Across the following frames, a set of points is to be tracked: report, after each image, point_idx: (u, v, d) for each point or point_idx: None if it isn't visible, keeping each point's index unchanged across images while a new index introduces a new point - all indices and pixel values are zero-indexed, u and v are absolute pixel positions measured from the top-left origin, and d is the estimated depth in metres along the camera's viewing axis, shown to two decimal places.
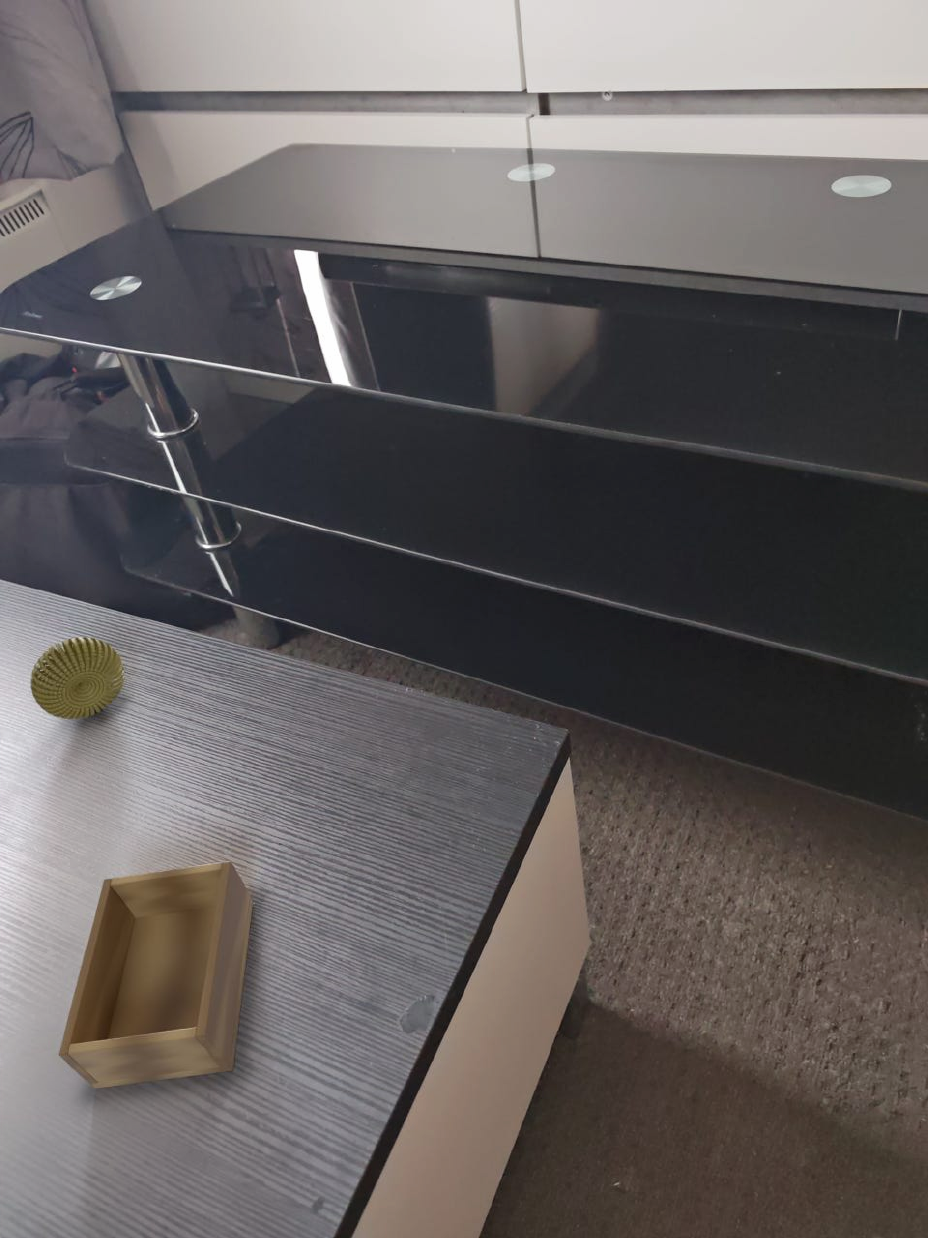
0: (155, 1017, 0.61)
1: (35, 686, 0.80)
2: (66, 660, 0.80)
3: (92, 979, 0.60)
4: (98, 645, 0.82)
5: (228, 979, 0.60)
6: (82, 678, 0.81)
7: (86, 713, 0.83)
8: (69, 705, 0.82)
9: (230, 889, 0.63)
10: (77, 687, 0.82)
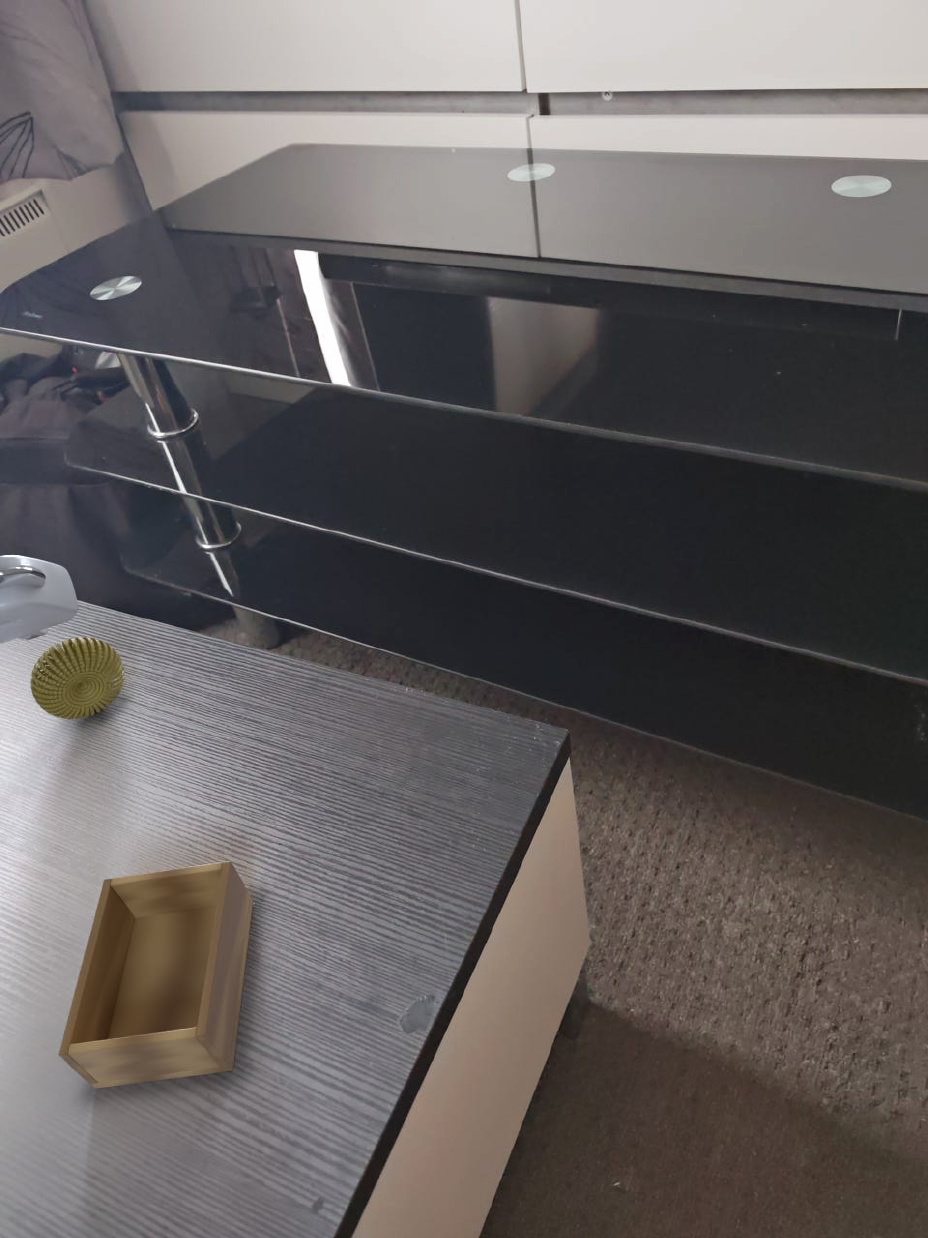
0: (155, 1017, 0.61)
1: (35, 686, 0.80)
2: (66, 660, 0.80)
3: (92, 979, 0.60)
4: (98, 645, 0.82)
5: (228, 979, 0.60)
6: (82, 678, 0.81)
7: (86, 713, 0.83)
8: (69, 705, 0.82)
9: (230, 889, 0.63)
10: (77, 687, 0.82)
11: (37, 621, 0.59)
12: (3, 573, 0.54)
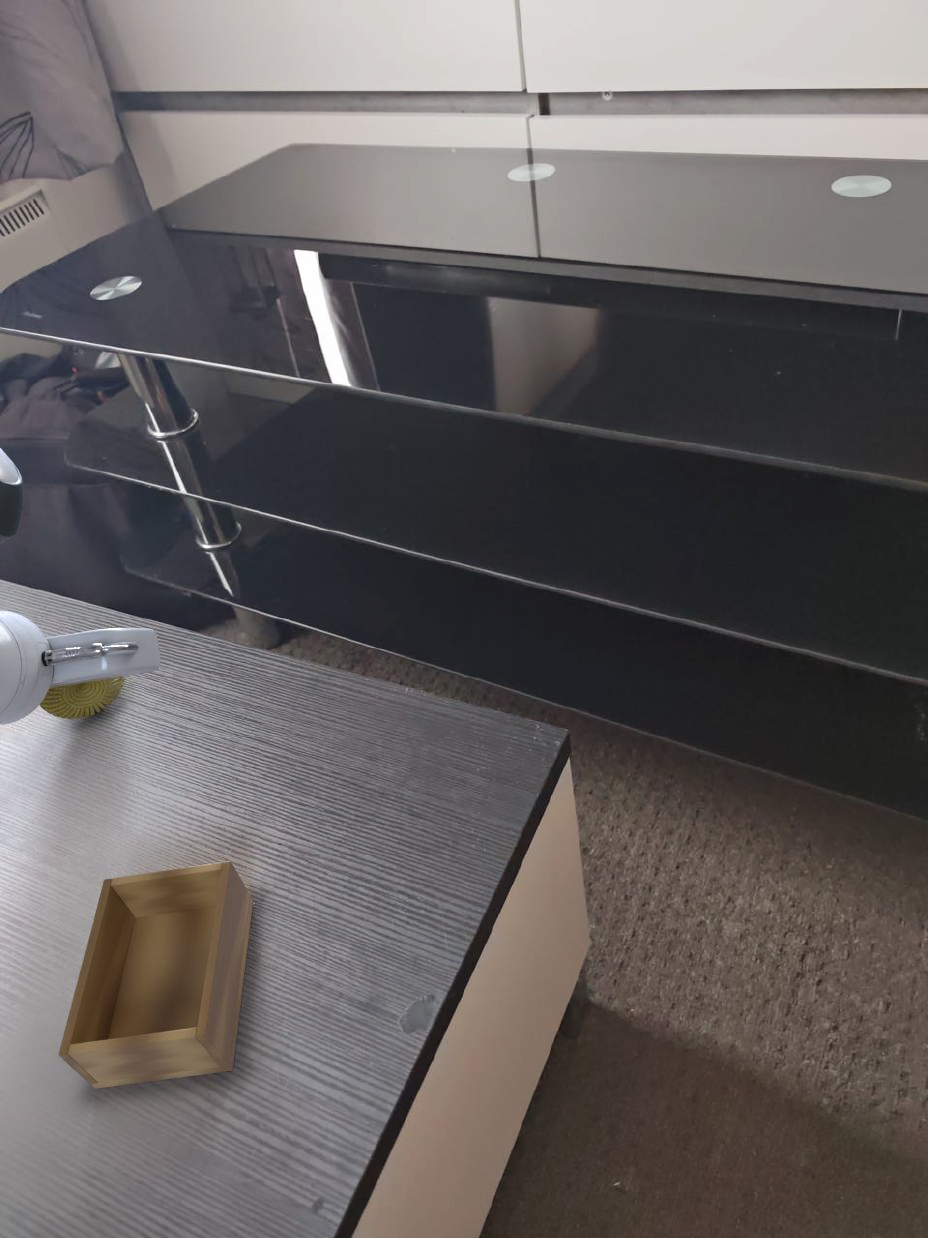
0: (155, 1017, 0.61)
1: None
2: None
3: (92, 979, 0.60)
4: None
5: (228, 979, 0.60)
6: None
7: (86, 713, 0.83)
8: (69, 705, 0.82)
9: (230, 889, 0.63)
10: (77, 687, 0.82)
11: (127, 674, 0.75)
12: (107, 650, 0.69)
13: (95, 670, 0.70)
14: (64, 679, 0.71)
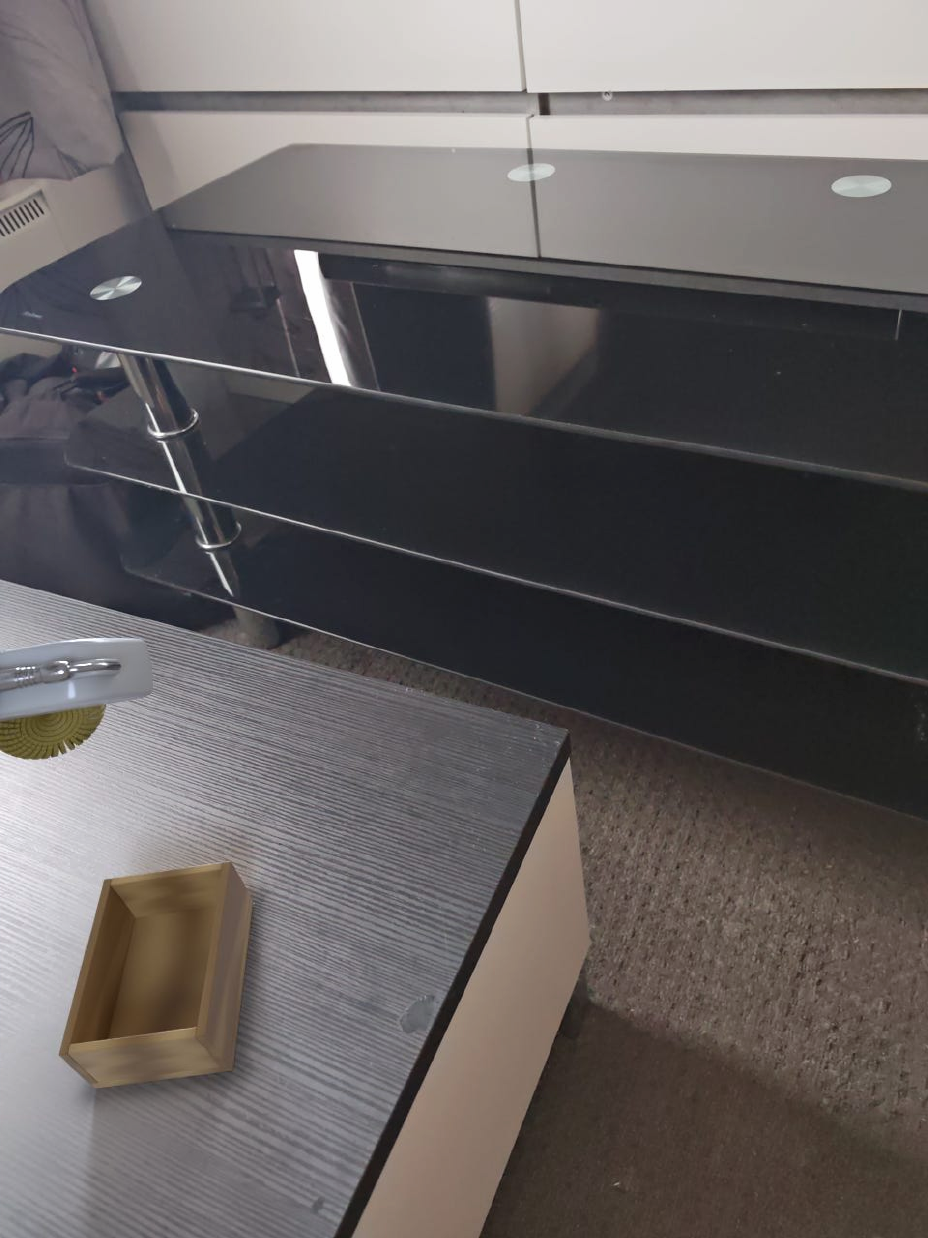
0: (155, 1017, 0.61)
1: None
2: None
3: (92, 979, 0.60)
4: None
5: (228, 979, 0.60)
6: None
7: (55, 752, 0.62)
8: (30, 742, 0.60)
9: (230, 889, 0.63)
10: (42, 717, 0.61)
11: (106, 702, 0.54)
12: (74, 670, 0.48)
13: (59, 699, 0.49)
14: (14, 712, 0.49)
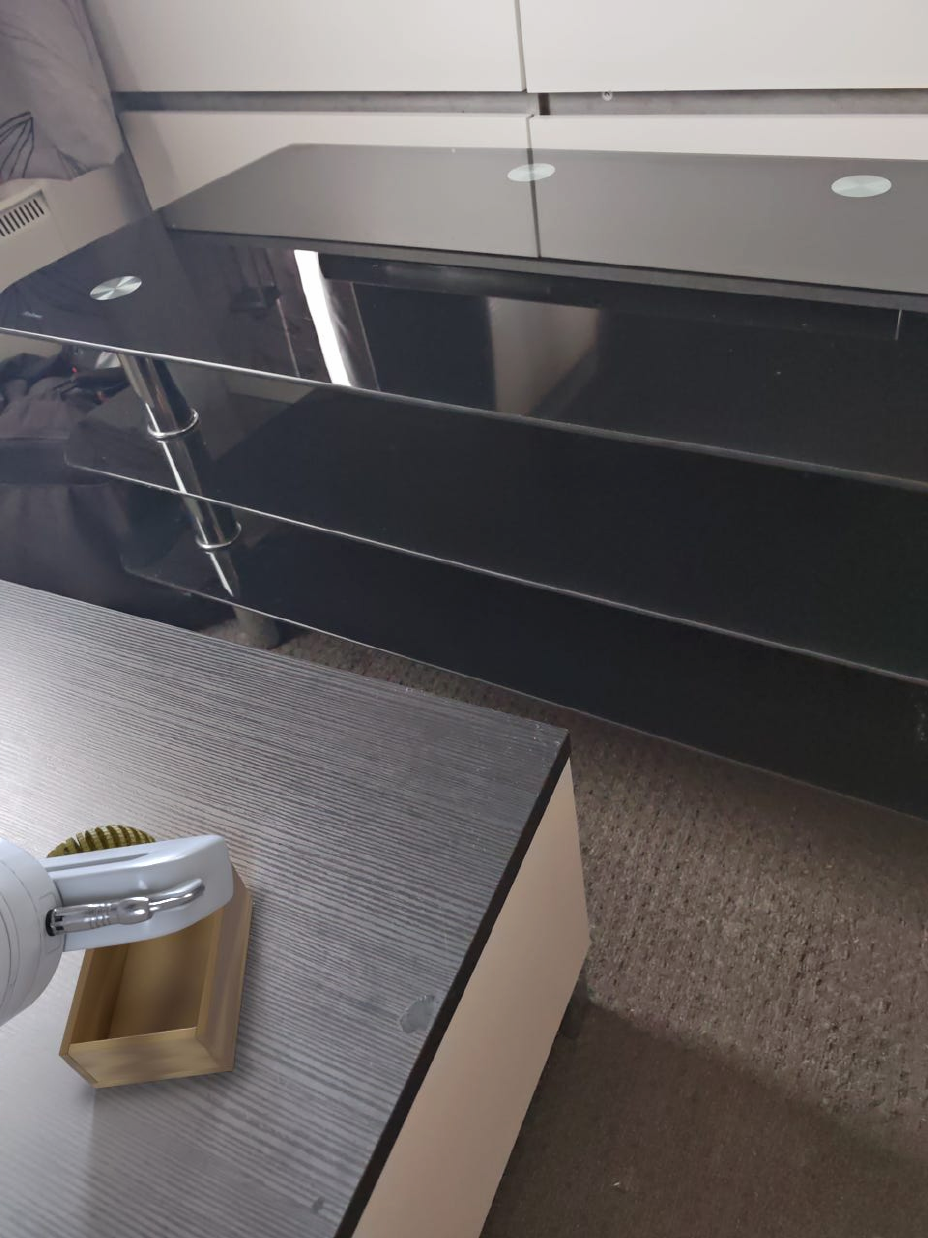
0: (155, 1017, 0.61)
1: None
2: None
3: (92, 979, 0.60)
4: (131, 839, 0.54)
5: (228, 979, 0.60)
6: None
7: None
8: None
9: None
10: None
11: None
12: (157, 909, 0.41)
13: (136, 935, 0.42)
14: (83, 948, 0.42)
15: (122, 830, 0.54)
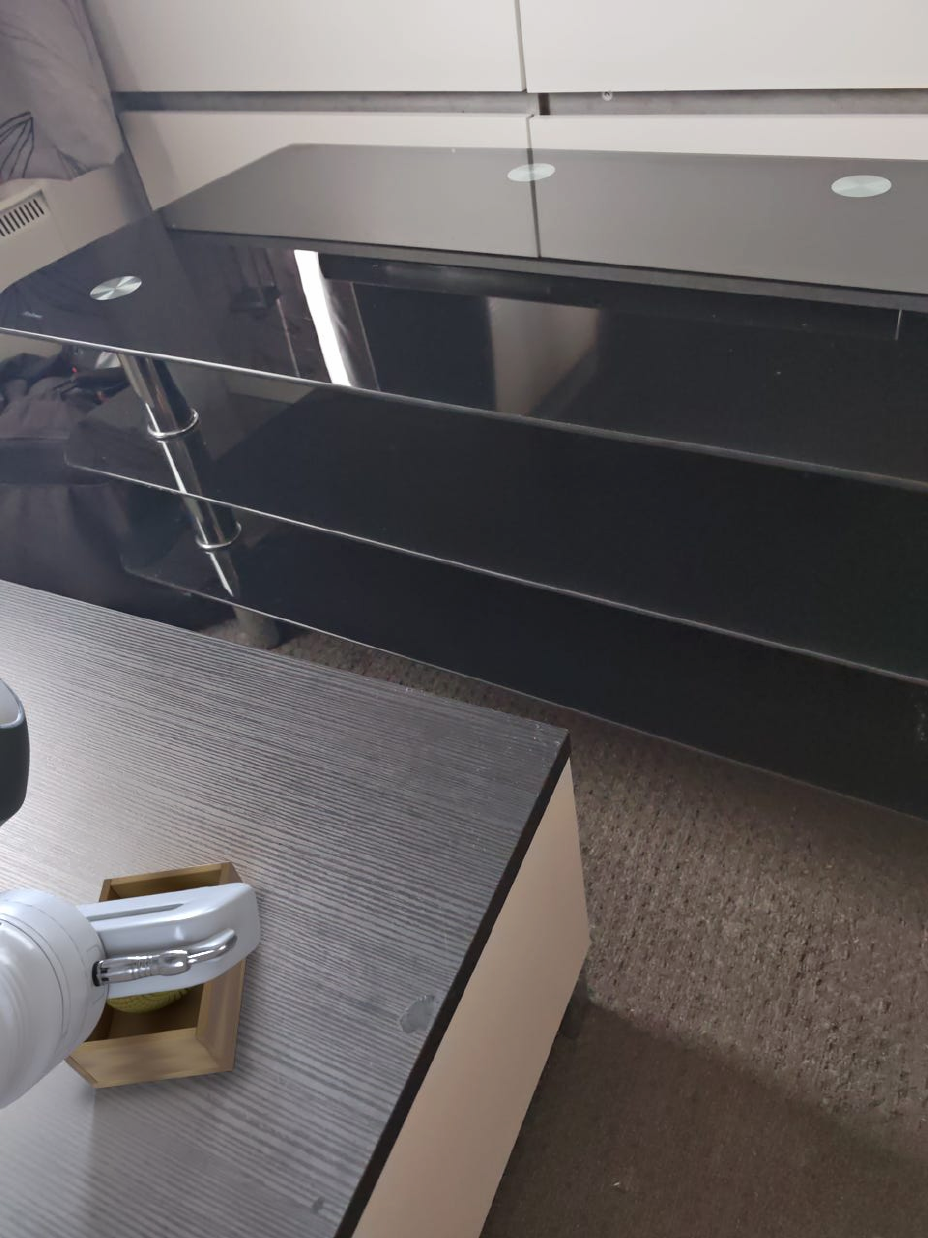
0: (155, 1017, 0.61)
1: None
2: None
3: None
4: None
5: (228, 979, 0.60)
6: None
7: (170, 1001, 0.60)
8: (149, 999, 0.59)
9: None
10: None
11: None
12: (195, 962, 0.44)
13: (174, 984, 0.45)
14: (125, 996, 0.46)
15: None
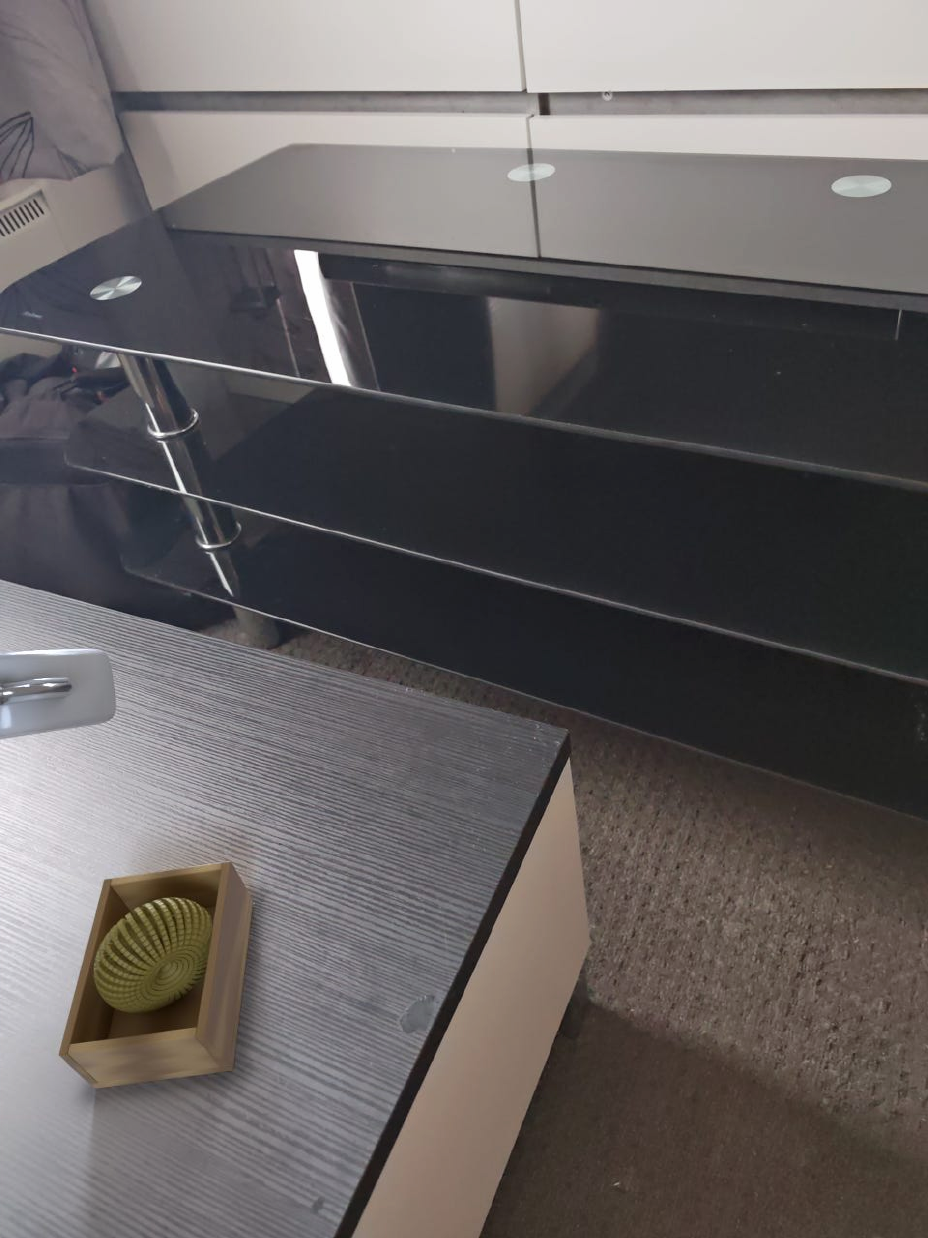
0: (155, 1017, 0.61)
1: (103, 982, 0.57)
2: (146, 943, 0.57)
3: (92, 979, 0.60)
4: (185, 909, 0.59)
5: (228, 979, 0.60)
6: (167, 961, 0.58)
7: (170, 1001, 0.60)
8: (149, 999, 0.59)
9: (230, 889, 0.63)
10: (159, 970, 0.59)
11: None
12: (8, 694, 0.37)
13: None
14: None
15: (174, 902, 0.60)
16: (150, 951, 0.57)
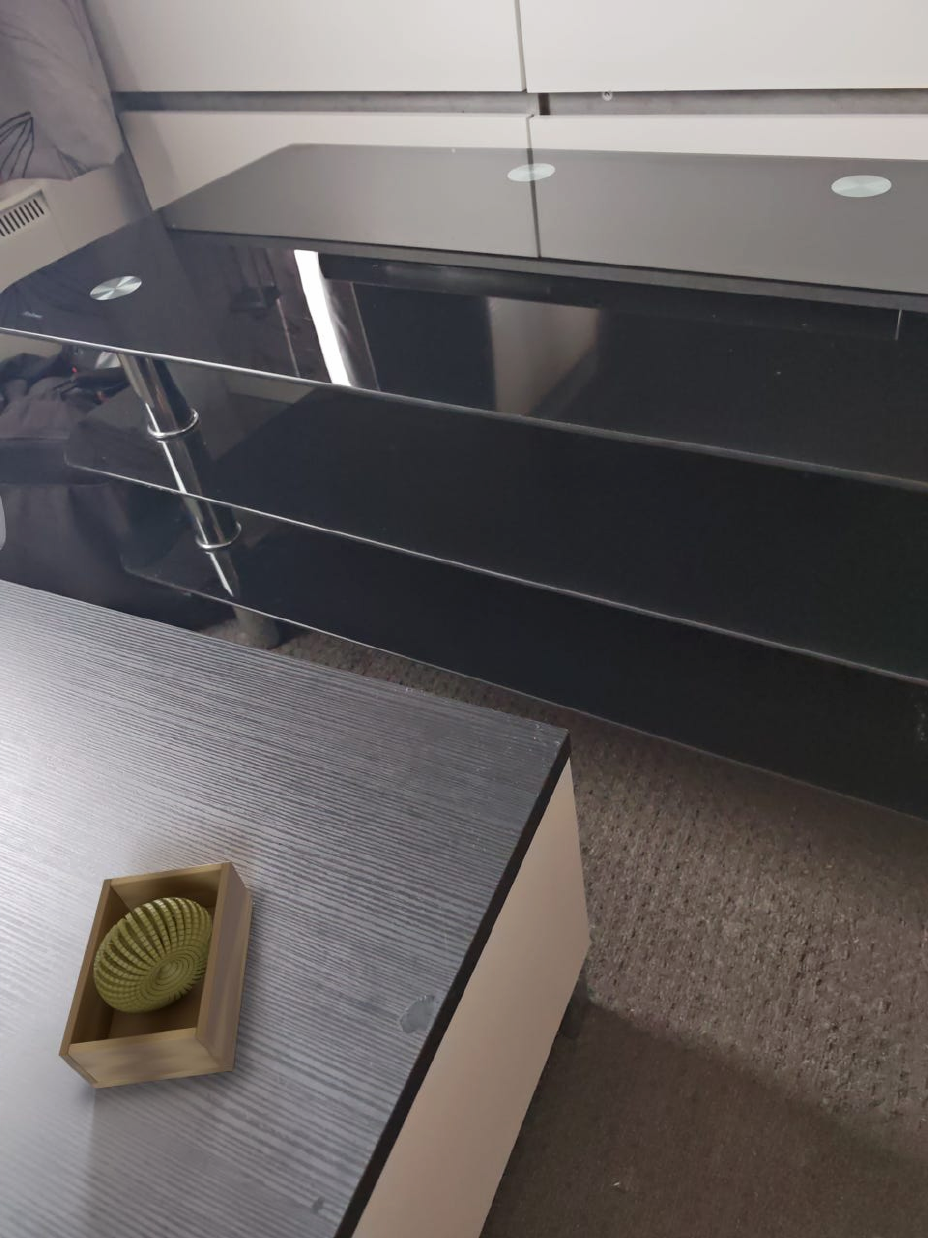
0: (155, 1017, 0.61)
1: (103, 982, 0.57)
2: (146, 943, 0.57)
3: (92, 979, 0.60)
4: (184, 909, 0.59)
5: (228, 979, 0.60)
6: (167, 961, 0.58)
7: (170, 1001, 0.60)
8: (149, 999, 0.59)
9: (230, 889, 0.63)
10: (159, 970, 0.59)
11: None
12: None
13: None
14: None
15: (174, 902, 0.60)
16: (150, 951, 0.57)
